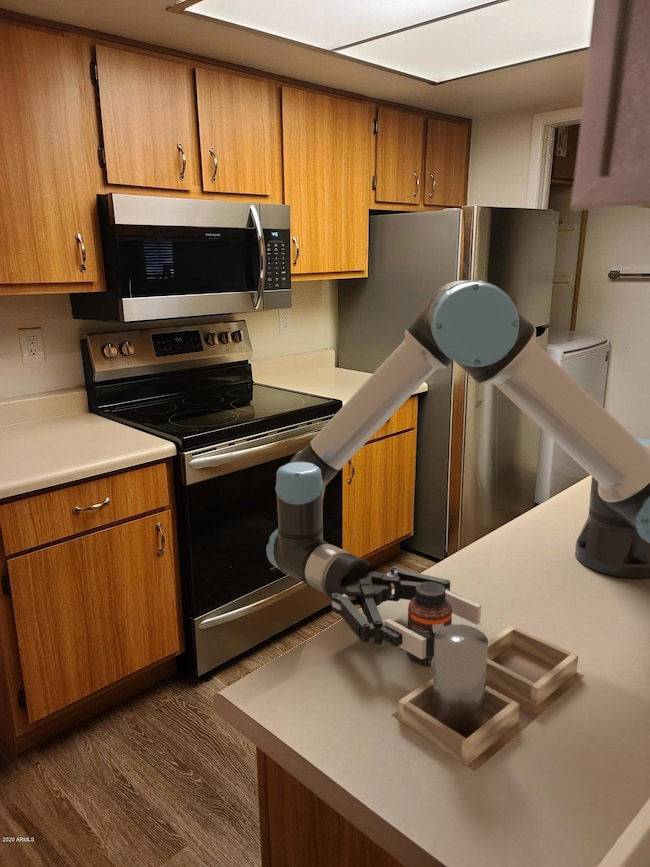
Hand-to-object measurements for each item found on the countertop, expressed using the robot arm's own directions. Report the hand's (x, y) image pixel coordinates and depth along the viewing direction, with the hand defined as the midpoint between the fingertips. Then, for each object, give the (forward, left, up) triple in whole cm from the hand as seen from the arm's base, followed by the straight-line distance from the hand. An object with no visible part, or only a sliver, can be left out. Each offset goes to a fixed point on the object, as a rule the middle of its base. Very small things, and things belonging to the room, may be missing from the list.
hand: (452, 631), depth 85 cm
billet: (+8, +7, -5) cm, 12 cm away
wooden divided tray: (+1, +7, -7) cm, 10 cm away
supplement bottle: (0, -4, -7) cm, 8 cm away
